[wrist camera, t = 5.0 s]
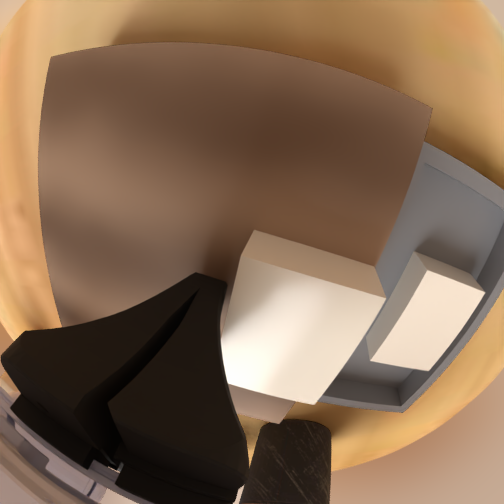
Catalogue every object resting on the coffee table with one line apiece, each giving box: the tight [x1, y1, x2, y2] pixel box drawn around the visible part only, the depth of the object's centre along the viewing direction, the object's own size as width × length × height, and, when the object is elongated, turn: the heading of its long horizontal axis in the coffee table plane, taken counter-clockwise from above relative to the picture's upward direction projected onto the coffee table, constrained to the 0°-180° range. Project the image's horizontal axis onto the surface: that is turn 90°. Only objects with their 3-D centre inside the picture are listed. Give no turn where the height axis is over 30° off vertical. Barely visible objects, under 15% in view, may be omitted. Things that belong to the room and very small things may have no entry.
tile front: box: [221, 230, 386, 405], centre depth 10 cm, size 6×4×2 cm
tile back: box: [366, 251, 485, 371], centre depth 13 cm, size 6×4×2 cm
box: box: [318, 141, 504, 413], centre depth 13 cm, size 16×9×2 cm, turn 166°
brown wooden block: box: [38, 42, 433, 424], centre depth 13 cm, size 18×16×4 cm
